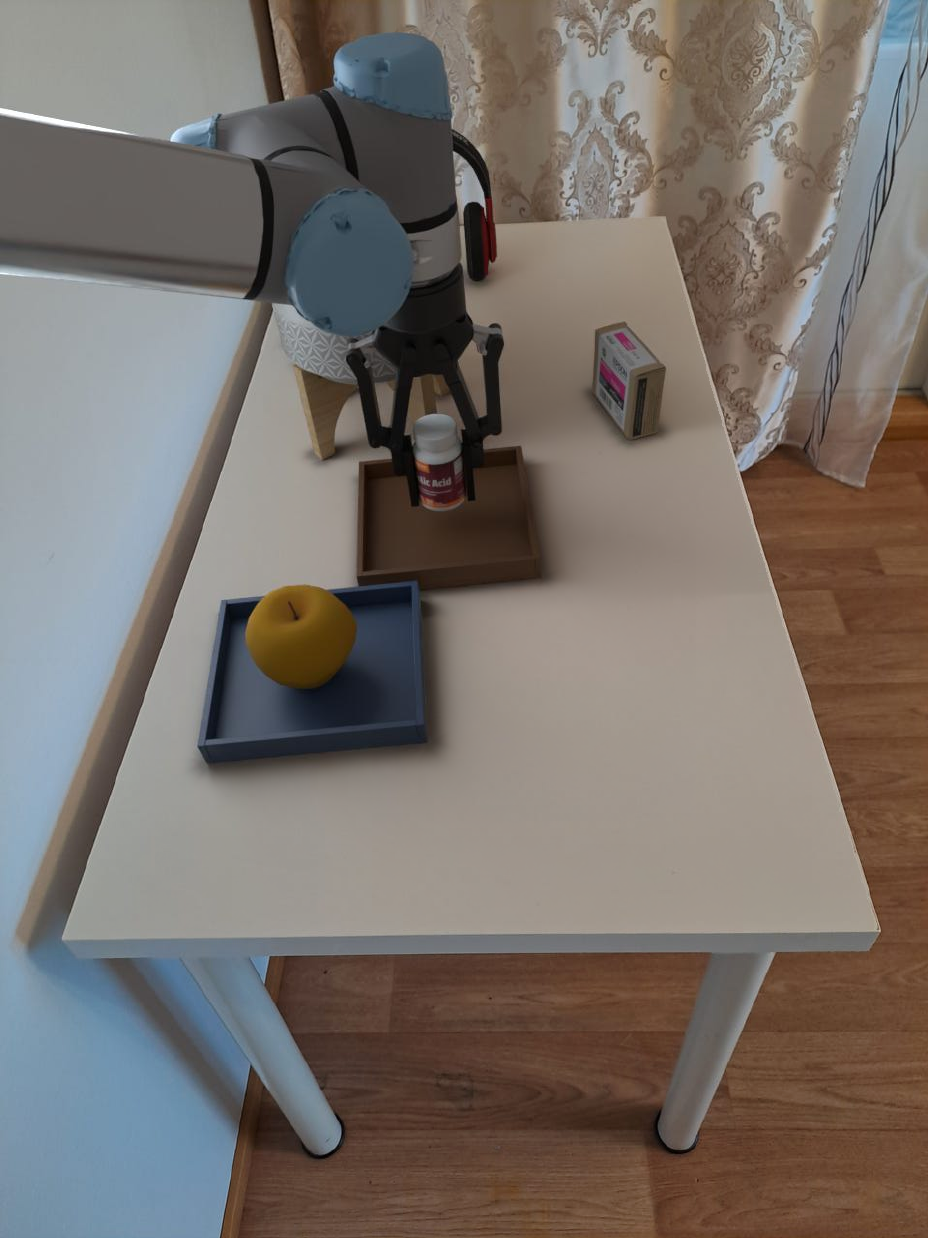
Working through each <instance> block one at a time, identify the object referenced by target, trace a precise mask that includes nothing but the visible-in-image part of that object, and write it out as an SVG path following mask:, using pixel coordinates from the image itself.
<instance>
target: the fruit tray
mask: <svg viewBox="0 0 928 1238" xmlns="http://www.w3.org/2000/svg"><path fill="white" fill-rule="evenodd" d="M326 590H327V591H330V592H331V593H332V594H333V595H334V596H335V597H337V598H338V599H339V600H340V601H341V602H342V603H344V604H345V605H346V606H347V608H348V609H349V610H350V611H351V613H352V615H353V617H354V619H355V622H356V625H357V633H356V639H355V644H354V646H353V648H352V650H351V652H350V654H349V656H348V657H347V659H346V661H345V662H344V664H343V665H342V667H341V668H340V669H339V671H338V672H337V673H336V674H335V675H334V676H333V677H332V678H331V679H330V680H329V681H328V682H327V683H326V684H324V685H322V686H320V687H317V688H315V689H296V688H292V687H288V686H284V685H280V684H278V683H276V682H275V681H273V680H272V679H270V678H268V677H267V676H265V675H264V674H263V672H262V671H261V670H260V669H259V668H258V667H257V666H256V664H255V662H254V660H253V658H252V656H251V653H250V651H249V649H248V647H247V645H246V637H245V632H246V628H247V624H248V620H249V617H250V616H251V614H252V612H253V611H254V609H255V607H256V606H257V605H258V603H259V602H260V601H261V599H262V598H263V597H265V596H266V595H260V596H249V597H238V598H230V599H221V600H220V605H219V610H218V618H217V622H216V623H217V624H216V630H215V635H214V642H213V647H212V648H213V649H212V654H211V661H210V665H209V673H208V678H207V686H206V691H205V697H204V703H203V710H202V716H201V723H200V729H199V734H198V740H197V741H198V742H197V748H198V750H199V752H200V755H201V756H202V758H203V760H204V762H205V764H206V765H212V764H222V763H231V762H232V763H233V762H242V761H252V760H254V761H255V760H263V759H272V758H283V757H294V756H303V755H305V756H306V755H313V754H316V755H317V754H324V753H326V754H327V753H335V752H346V751H356V750H364V749H365V750H366V749H376V748H386V747H387V748H388V747H397V746H398V747H399V746H406V745H416V744H417V745H418V744H427V743H428V730H427V729H428V728H427V705H426V685H425V665H424V664H425V662H424V659H425V658H424V641H423V639H424V638H423V636H424V635H423V618H422V598H421V591H420V590H419V585H418V581H412V582H411V581H410V582H400V583H390V584H380V585H370V586H360V587H359V586H350V587H341V588H331V589H326Z"/></svg>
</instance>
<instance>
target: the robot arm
mask: <svg viewBox="0 0 928 1238" xmlns="http://www.w3.org/2000/svg"><path fill="white" fill-rule="evenodd" d="M333 69H334V70H333V71H334V74H333V76H332V77H333V78H332V80H333V84H334V85H333V86H332V87H328V88H324V89H321V90H320V91H318V92H313V93H310V94H307V95H302V96H298V97H293V98H289V99H286V100H281V101H277V102H272V103H268V104H263V105H259V106H255V107H251V108H247V109H242V110H239V111H234V112H229V113H225V114H223V113H214V114H213V115H212V116H211V117H209V118H205V119H203V120H200V121H197V122H194V123H191V124H188V125H185V126H181V127H179V128H178V129H176V130H175V131H174V132H173V133H172V135H171V136H170V140H168V139H162V138H156V137H152V136H145V135H140V134H137V133H131V132H125V131H119V130H115V129H111V128H106V127H105V128H104V127H99V126H93V125H88V124H83V123H79V122H74V121H68V120H62V119H58V118H54V117H53V118H52V117H47V116H42V115H36V114H32V113H27V112H21V111H16V110H11V109H6V108H1V107H0V275H9V276H18V277H27V278H36V279H38V278H39V279H46V280H57V281H64V282H65V281H66V282H74V283H75V282H76V283H84V284H94V285H103V286H113V287H122V288H131V289H139V290H141V289H142V290H149V291H150V290H151V291H161V292H170V293H179V294H187V295H189V294H190V295H198V296H208V297H209V296H210V297H217V298H225V299H227V298H228V299H237V300H243V301H253V302H261V303H269V304H272V303H275V304H284V305H292V306H293V307H295V309H296V311H297V313H298V314H299V315H300V316H301V317H303V318H304V319H306V320H308V321H310V322H311V323H312V324H313V325H314V326H316V327H318V328H319V329H321V330H323V331H325V332H328V333H330V334H333V335H337V336H345V337H351V336H358V335H363V334H366V333H369V332H371V331H373V332H372V335H371V336H369V337H367V338H365V339H362V340H360V341H359V340H358V339H356V338H351V339H349V340H348V341H347V344H346V362H347V364H348V365H349V367H350V369H351V370H352V372H353V373H354V375H355V376H356V378H357V383H358V387H357V388H358V394H359V398H360V399H359V400H360V404H361V410H362V416H363V421H364V425H365V431H366V436H367V441H368V446H369V447H370V448H371V449H379V448H380V447H382V448H383V447H384V448H386V449H388V450H389V452H390V455H391V459H392V462H393V468H394V473H395V474H396V476H407V481H408V488H409V494H410V501H411V507H417V506H419V496H418V489H417V481H416V474H415V468H414V461H413V455H412V446H413V443H412V435H411V434H405V433H406V427H407V421H408V420H407V419H408V406H409V399H410V392H411V389H412V382H413V378H414V377H420V376H423V375H426V374H433V375H443V377H444V380H445V382H446V384H447V386H448V387H449V390H450V392H449V393H450V394H451V397H452V399H453V402H454V404H455V407H456V409H457V412H458V413H459V417H460V420H461V422H462V425H463V427H464V428H461V429H460V437H461V442H462V446H463V457H464V467H465V477H466V487H467V497H468V501H476V499H475V487H474V476H473V468H483V466H484V463H485V462H484V449H485V448H484V441H485V439H486V438H488V437H489V436H492V437H493V436H494V437H497V436H500V435H501V433H502V432H503V424H502V423H503V421H502V406H501V405H502V404H501V387H500V386H501V385H500V369H499V362H500V359H501V357H502V353H503V350H504V347H505V340H504V339H505V338H504V335H503V329H502V325H500V323H497V322H492V323H491V324H489V325H488V326H484V325H480V324H474V322H473V319H472V317H471V316H470V315H469V313H468V311H467V301H466V289H465V288H466V287H465V276H464V267H463V265H462V263H461V260H462V258H463V251H462V237H461V228H460V227H461V225H460V214H459V213H460V212H459V205H458V198H457V197H458V196H457V189H456V175H455V160H454V159H455V158H454V151H453V140H452V129H453V127H452V119H453V114H454V113H453V109H452V105H451V98H450V90H449V84H448V76H447V72H446V66H445V60H444V56H443V52H442V51H441V50H440V48H439V47H438V45H437V44H436V43H435V42H434V41H432V40H430V39H428V38H427V37H425V36H423V35H421V34H417V33H411V32H397V31H396V32H395V31H394V32H383V33H374V34H370V35H366V36H362V37H358V38H357V39H356V40H355V41H352V42H348V43H345V44H344V45H342V46H340V48H339V49H338V50H337V52H335V56H334V59H333ZM472 341H473V342H474V343H475V345H476V351H477V353H478V354H480V355H481V356H482V357H481V358H482V372H483V382H484V396H485V410H486V411H485V412H486V415H483V416H481V417H480V416H479V413H478V410H477V408H476V406H475V403H474V401H473V397H472V395H471V392H470V390H469V387H468V384H467V381H466V379H465V377H464V374H463V371H462V369H461V366H460V362H459V360H460V359H461V357H462V356H463V354H464V352H465V351H466V349H467V348H468V347H469V346H470V343H471V342H472ZM377 350H378V351H379V352H380V353H381V354H382V355H383V356H384V357H385V358H386V359H387V360H388V361H389V362H391V363H392V364H393V365H394V366H395V367H396V368H397V372H396V381H395V389H394V391H393V397H392V405H391V413H390V419H389V420H390V421H389V425H388V426H383V425H382V419H381V413H380V407H379V402H378V395H377V391H376V384H375V383H374V378H373V372H372V365H373V364H374V353H375V352H376V351H377Z"/></svg>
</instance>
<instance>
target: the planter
mask: <svg viewBox="0 0 928 1238" xmlns="http://www.w3.org/2000/svg"><path fill="white" fill-rule="evenodd" d="M271 306H272V310H273V314H274V318H275V323H276V326H277V330H278V334H279V339H280V343H281V346H282V349H283V351H284V353H285V355H286V357H287V358H288V359H289V361H291V362H292V364H294V365H293V366H292V368H293V372H294V377H295V379H296V385H297V388H298V392H299V396H300V400H301V405H302V409H303V412H304V413H303V414H304V416H305V420H306V424H307V428H308V432H309V438H310V441H311V444H312V448H313V453H314V455H315V456H316V457H317V458H319V459H320V460H321V461H323V460H326V459H327V458H329V457H331V456H333V455H335V454H336V448H335V436H336V428H337V424H338V420H339V419H340V418H339V417H340V415H341V412H342V410H343V408H344V406H345V405H346V403H347V401H348V399H349V398H350V396H351V395H352V394H353V393H354V392H355V390H356V389H357V388H358V383H357V378H356V376H355V375H354V373H353V372H352V370H351V369H350V367H349V365H348V364H347V362H346V344H347V341H348V340H349V339H351V338H356V339H358V340H359V341H360V340H362V339H365V338H367V337H369V336H371V335H372V332H373V331H371V332H369V333H366V334H363V335H358V336H351V337H345V336H337V335H333V334H330V333H328V332H325V331H323V330H321V329H319V328H318V327H316V326H314V325H313V324H312V323H311V322H310V321H308V320H306V319H304V318H303V317H301V316H300V315H299V314H298V313H297V311H296V309H295V307H293V306H292V305H284V304H275V303H271ZM372 372H373V378H374V383H375V385H377V384H382V383H386V384H387V385H388V386H389V387H390V389H391V390H392V391H393V392H394V389H395V381H396V372H397V368H396V367H395V366H394V365H393V364H392V363H391V362H389V361H388V360H387V359H386V358H385V357H384V356H383V355H382V354H381V353H380V352H379V351H378V350H377V351H376V352H375V353H374V364H373V365H372ZM449 393H451V392H450V390H449V387H448V386H447V384H446V382H445V380H444V377H443V375H433V374H426V375H423V376H420V377H414V378H413V382H412V389H411V392H410V399H409V406H408V413H407V416H408V417H409V419H410V422H411V424H412V427H413V426H414V424H415V422H416V421H417V420H419V419H420V418H422V417H423V416H426V415H430V414H438V409H437V401H436V400H437V399H436V394H437V395H438V396H440V397H442V396H445V395H447V394H449Z"/></svg>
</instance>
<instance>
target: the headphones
mask: <svg viewBox="0 0 928 1238" xmlns="http://www.w3.org/2000/svg"><path fill="white" fill-rule="evenodd" d="M452 140H453V153H455V154H458V155H459V156H460V158H462V159H464V160H465V161H466V162H467V164H468V165H469V166H470V167H471V169H472V170H473V172H474V174H475V176H476V178H477V180H478V182H479V186H480V187H481V190H482V193H483V198H484V205H485V207H484V206H483V205H481V204H480V202H478V201H470V202H467V203H466V204H465V205H464V207H463V212H462V217H463V220H462V221H463V233H464V245H465V248H464V249H465V260H466V271H467V275H468V277H469V279H470V280H472V281H473V282H481V281H484V280H485V279H486V277H487V276H488V275H489V267H490V263H491V264H494V263H495V262H496V260H497V258H498V245H497V231H496V223H495V222H494V205H493V196H492V188H491V178H490V172H489V169H488V167H487V163H486V161H485V160H484V157H483V156H482V154H481V152H479V150H478V149H477V147H476V146H475V145H474V144H473V143H472V142H471V141H470V140H468V138H467V137H466V136H465V135H463V134H461V133H460V132H458V131H457V130H456V129H453V128H452Z"/></svg>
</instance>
